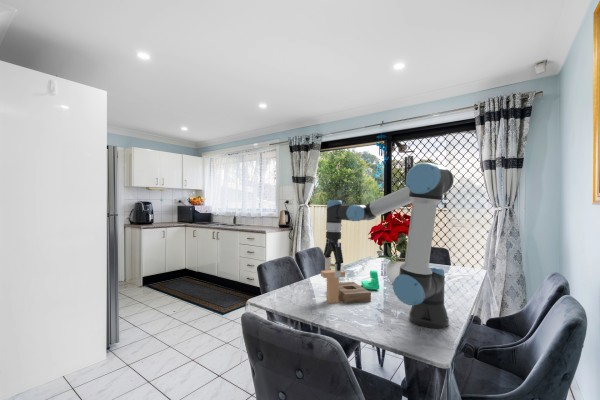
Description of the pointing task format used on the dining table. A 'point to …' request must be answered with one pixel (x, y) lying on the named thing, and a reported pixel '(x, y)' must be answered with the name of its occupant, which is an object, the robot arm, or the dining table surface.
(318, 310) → the dining table surface
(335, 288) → the wooden t-shaped post
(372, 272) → the camera mount
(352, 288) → the well block
